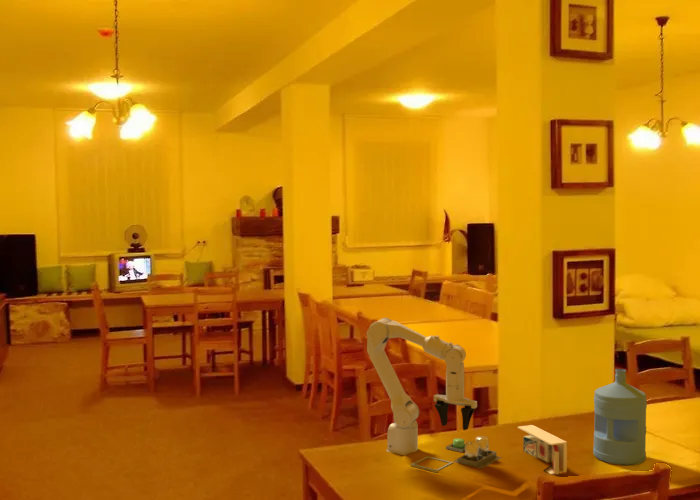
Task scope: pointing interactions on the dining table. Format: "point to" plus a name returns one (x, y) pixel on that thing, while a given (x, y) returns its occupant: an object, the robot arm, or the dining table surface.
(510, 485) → the dining table surface
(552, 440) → the cigarette display
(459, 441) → the button
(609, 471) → the dining table surface
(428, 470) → the tote tray
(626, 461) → the water jug
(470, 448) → the cylinder
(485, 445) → the seated billet
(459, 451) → the button housing
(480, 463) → the grey pocketed tray
